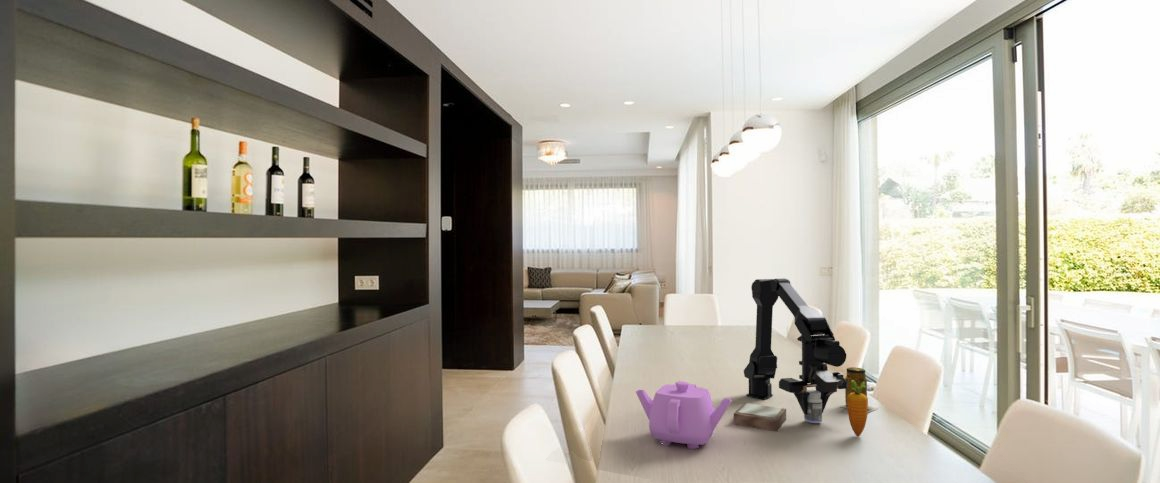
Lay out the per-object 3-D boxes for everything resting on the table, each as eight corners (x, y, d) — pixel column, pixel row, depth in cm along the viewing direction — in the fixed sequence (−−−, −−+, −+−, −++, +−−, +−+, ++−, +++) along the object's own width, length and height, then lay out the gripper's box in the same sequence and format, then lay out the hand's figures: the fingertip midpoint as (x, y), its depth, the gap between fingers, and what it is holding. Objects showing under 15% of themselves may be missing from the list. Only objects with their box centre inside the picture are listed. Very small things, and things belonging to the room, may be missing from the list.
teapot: (735, 447, 134) (734, 387, 135) (673, 459, 127) (672, 395, 128) (690, 424, 152) (690, 371, 152) (634, 433, 145) (633, 377, 145)
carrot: (866, 434, 143) (865, 378, 143) (870, 440, 138) (869, 382, 138) (846, 432, 144) (845, 376, 145) (848, 438, 140) (848, 381, 140)
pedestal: (733, 424, 152) (733, 412, 152) (744, 412, 162) (744, 401, 162) (777, 431, 146) (777, 419, 146) (786, 419, 156) (786, 407, 156)
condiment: (850, 402, 172) (849, 365, 172) (878, 408, 165) (877, 370, 166) (839, 407, 167) (839, 368, 167) (868, 413, 161) (867, 373, 161)
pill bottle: (801, 418, 155) (800, 389, 155) (816, 417, 155) (816, 388, 155) (809, 423, 150) (809, 393, 150) (825, 423, 151) (825, 393, 151)
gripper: (802, 367, 143) (802, 425, 143) (861, 363, 147) (861, 419, 147) (777, 358, 154) (777, 412, 154) (833, 355, 158) (833, 407, 158)
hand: (813, 413), depth 153 cm, fingers closed on pill bottle, 5 cm apart
